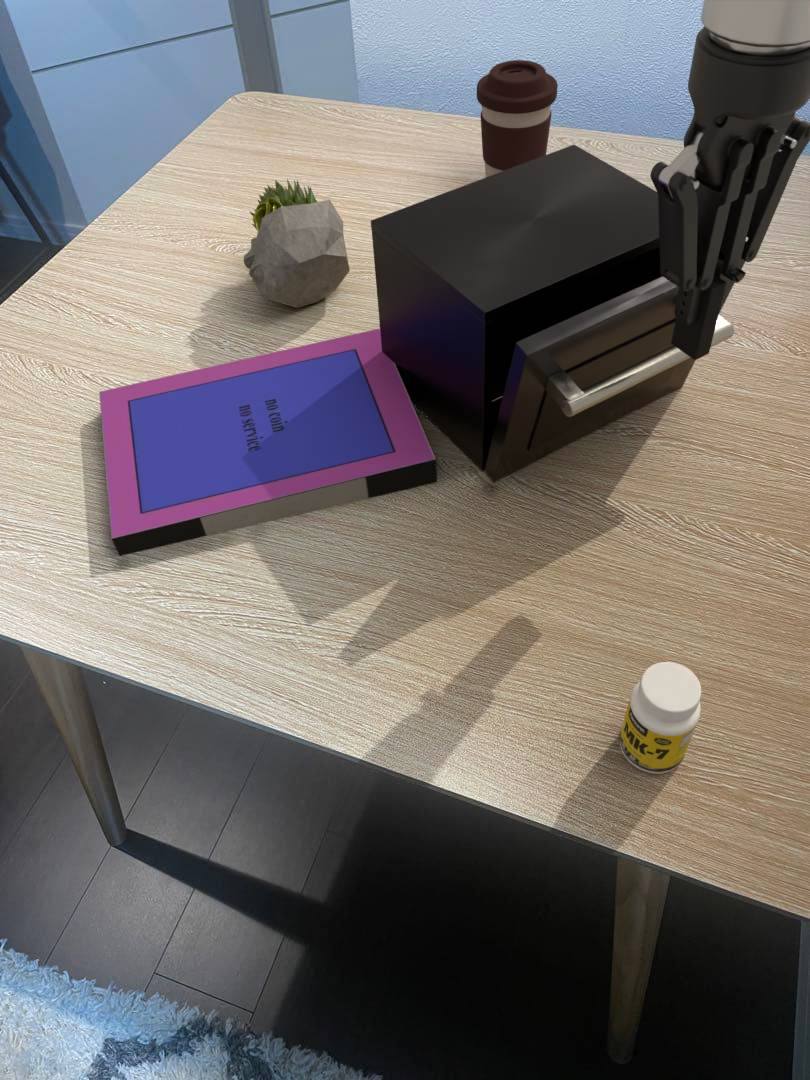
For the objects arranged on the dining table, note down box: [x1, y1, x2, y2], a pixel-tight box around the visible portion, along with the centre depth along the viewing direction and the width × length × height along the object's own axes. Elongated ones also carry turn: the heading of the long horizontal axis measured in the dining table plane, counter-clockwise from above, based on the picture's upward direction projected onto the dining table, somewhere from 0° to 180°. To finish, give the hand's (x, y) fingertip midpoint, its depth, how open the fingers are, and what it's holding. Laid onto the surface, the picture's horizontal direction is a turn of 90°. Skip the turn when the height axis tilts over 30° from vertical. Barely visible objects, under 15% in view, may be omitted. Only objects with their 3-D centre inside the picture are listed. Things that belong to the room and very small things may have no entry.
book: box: [98, 327, 438, 557], centre depth 90 cm, size 21×3×30 cm
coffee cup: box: [476, 59, 559, 178], centre depth 117 cm, size 10×10×15 cm
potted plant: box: [243, 178, 351, 309], centre depth 106 cm, size 12×13×15 cm
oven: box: [370, 144, 662, 472], centre depth 90 cm, size 18×24×18 cm
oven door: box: [483, 261, 746, 483], centre depth 82 cm, size 5×24×18 cm, turn 122°
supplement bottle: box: [619, 661, 702, 775], centre depth 64 cm, size 5×5×8 cm
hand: (689, 348), depth 73 cm, fingers closed
